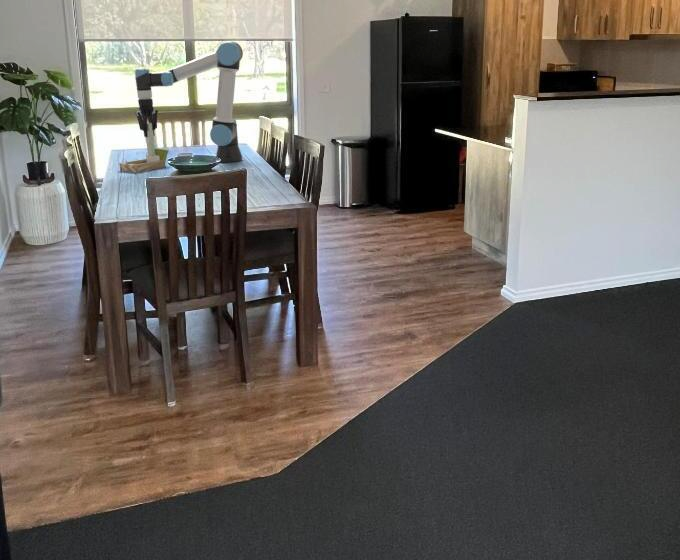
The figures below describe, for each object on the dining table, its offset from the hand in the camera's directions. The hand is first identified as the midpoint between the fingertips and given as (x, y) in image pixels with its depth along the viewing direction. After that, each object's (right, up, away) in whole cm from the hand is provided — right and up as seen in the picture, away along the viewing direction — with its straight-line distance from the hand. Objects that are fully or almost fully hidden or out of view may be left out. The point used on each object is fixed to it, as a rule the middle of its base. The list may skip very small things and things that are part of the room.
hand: (150, 142), depth 403 cm
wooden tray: (-4, -14, 0) cm, 15 cm away
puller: (+1, -13, +5) cm, 13 cm away
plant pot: (+3, -11, +7) cm, 14 cm away
